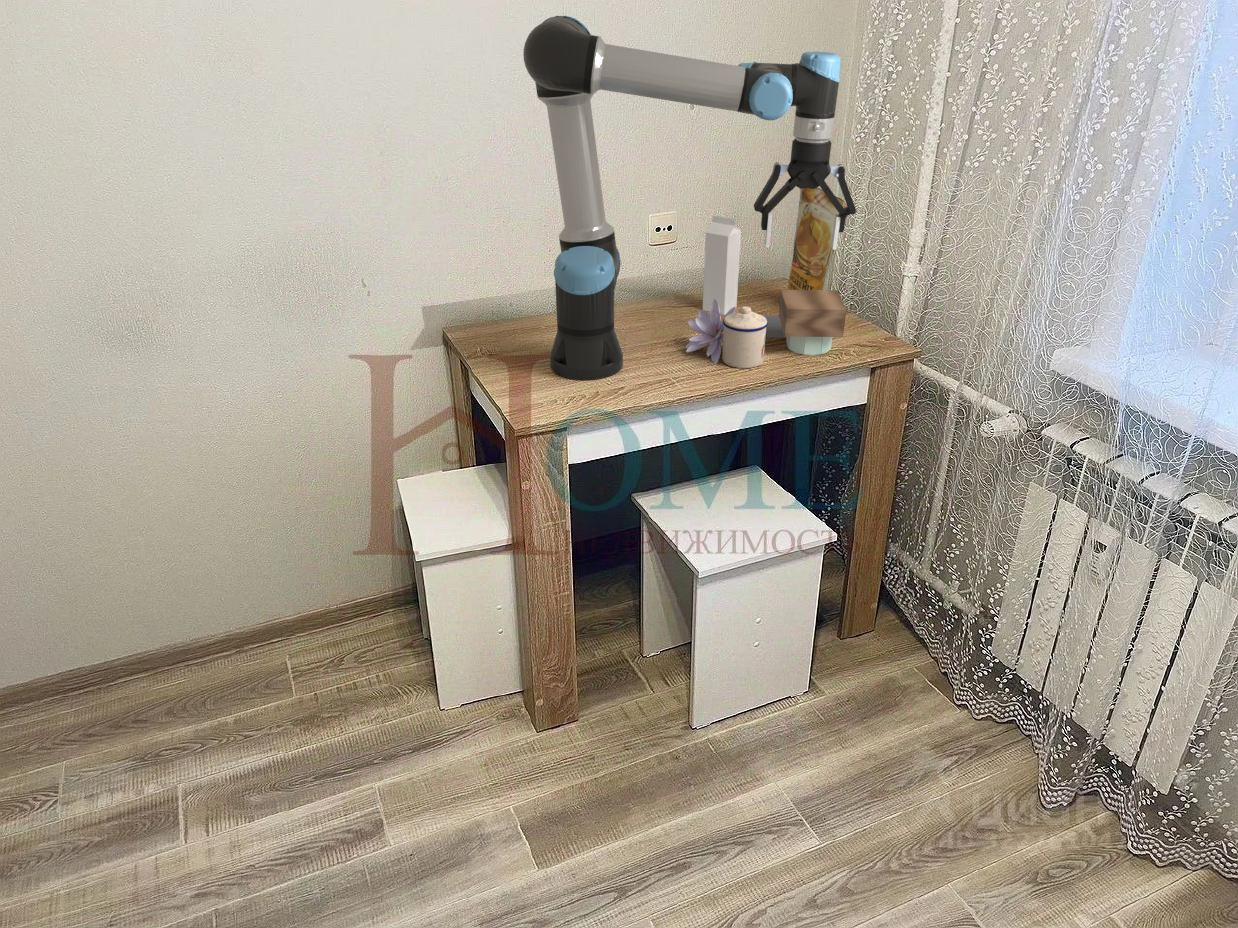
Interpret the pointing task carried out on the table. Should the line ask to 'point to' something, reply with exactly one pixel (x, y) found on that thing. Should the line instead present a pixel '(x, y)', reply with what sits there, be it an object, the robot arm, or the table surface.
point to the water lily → (708, 331)
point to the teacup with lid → (744, 339)
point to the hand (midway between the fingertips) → (800, 246)
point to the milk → (721, 264)
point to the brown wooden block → (812, 313)
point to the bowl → (809, 345)
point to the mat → (774, 327)
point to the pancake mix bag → (812, 240)
